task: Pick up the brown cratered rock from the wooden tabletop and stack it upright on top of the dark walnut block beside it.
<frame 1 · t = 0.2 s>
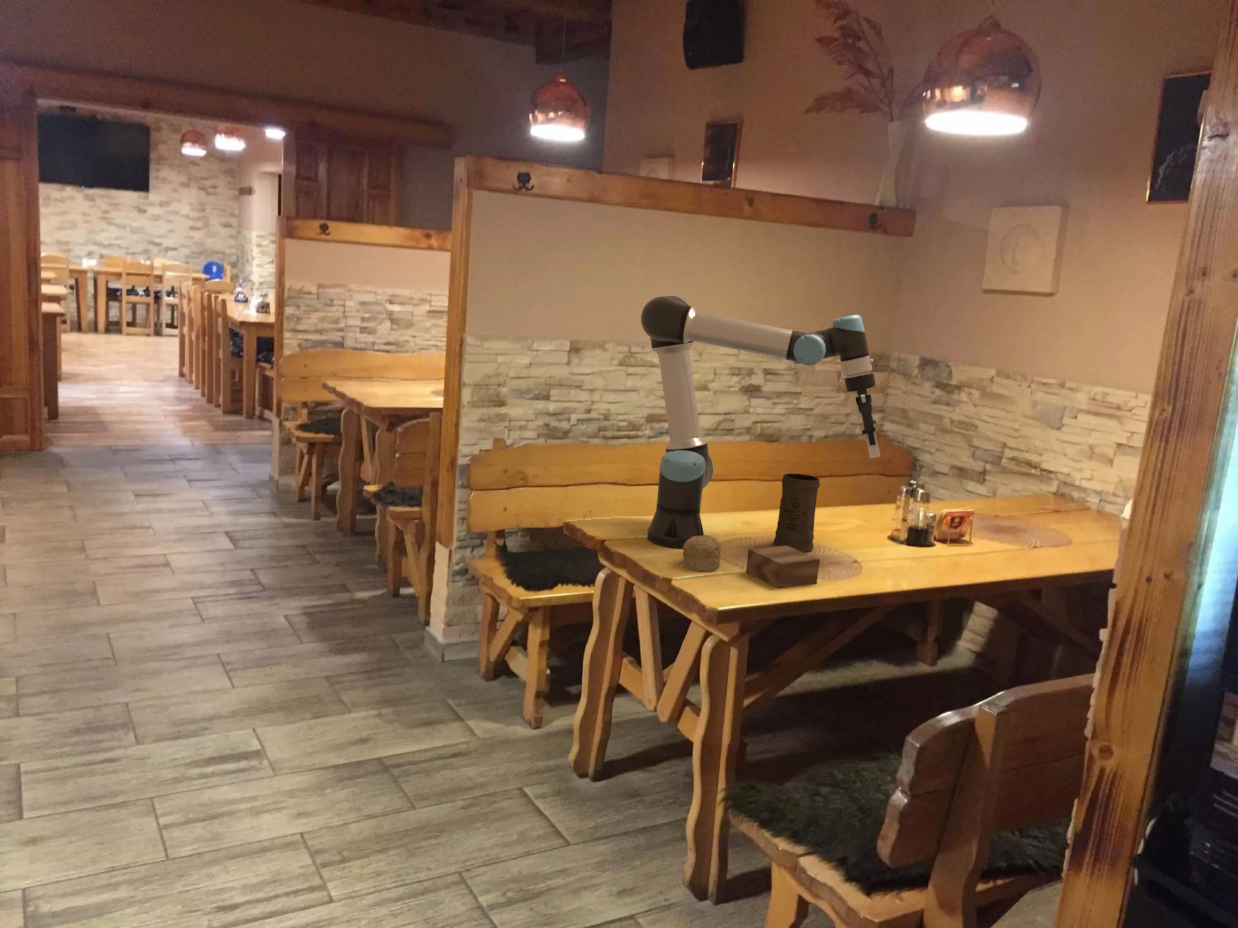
hand: (874, 453, 257), 28 cm above the table, tool tilted 20°, fingers open, 13 cm apart
walnut block: (781, 578, 235), on the table
brown cratered rock: (699, 566, 239), on the table
beer stein: (793, 545, 266), on the table
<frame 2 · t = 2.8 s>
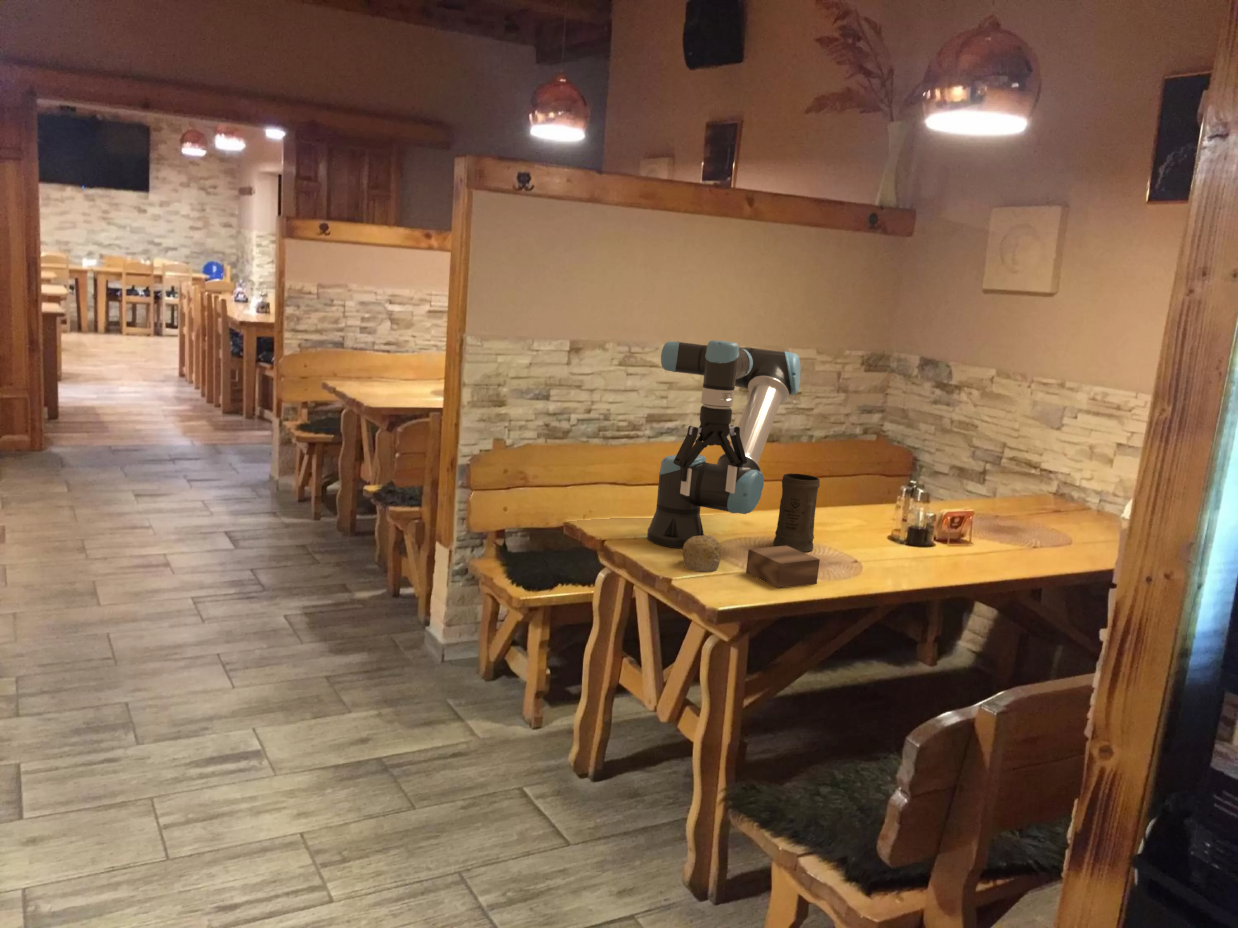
hand: (707, 493, 235), 18 cm above the table, tool pointing down, fingers open, 13 cm apart
nothing on the table moved.
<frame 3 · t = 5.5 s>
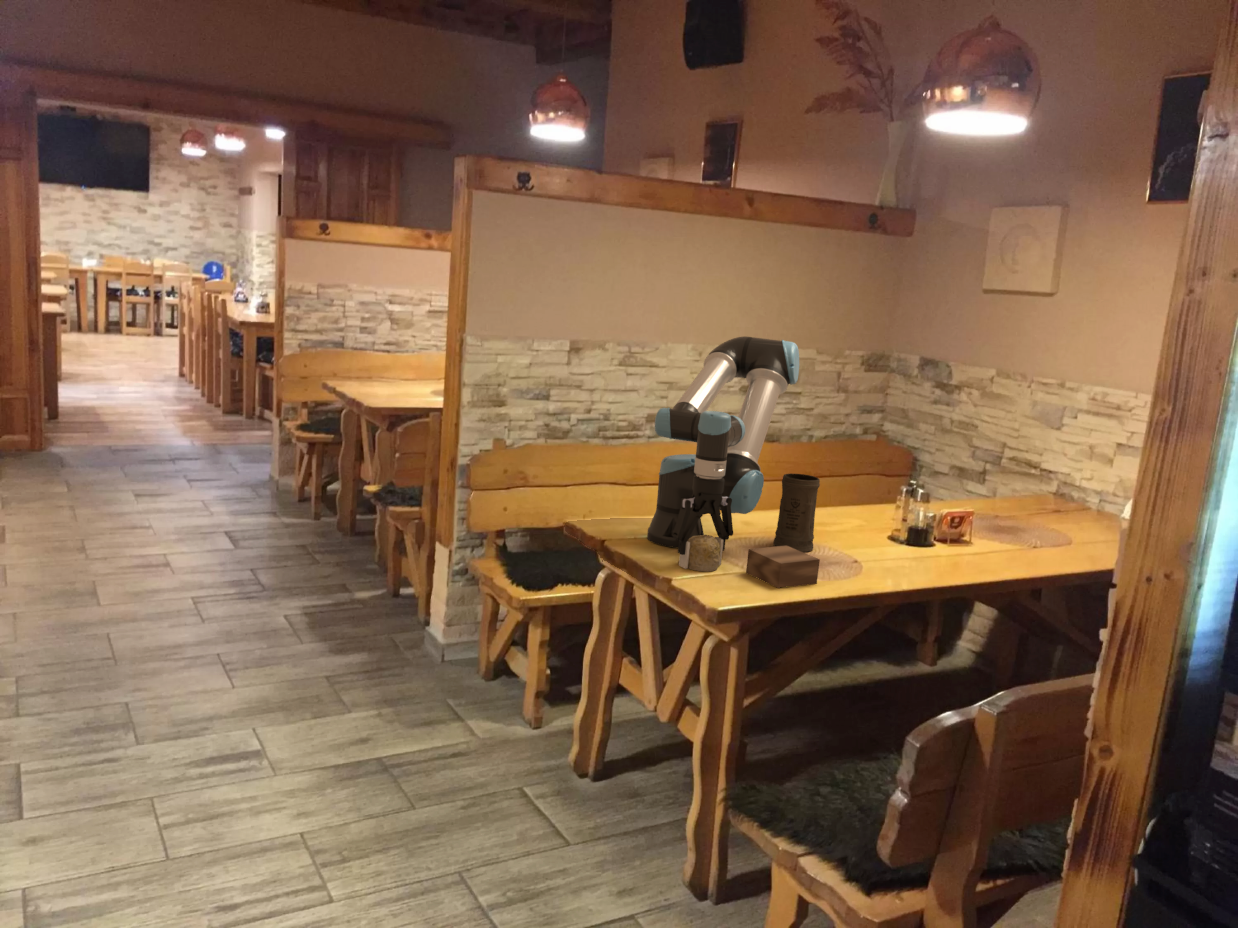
hand: (699, 565, 239), 0 cm above the table, tool pointing down, fingers closed on brown cratered rock, 9 cm apart
brown cratered rock: (699, 566, 239), on the table, touching gripper
everything else where it was.
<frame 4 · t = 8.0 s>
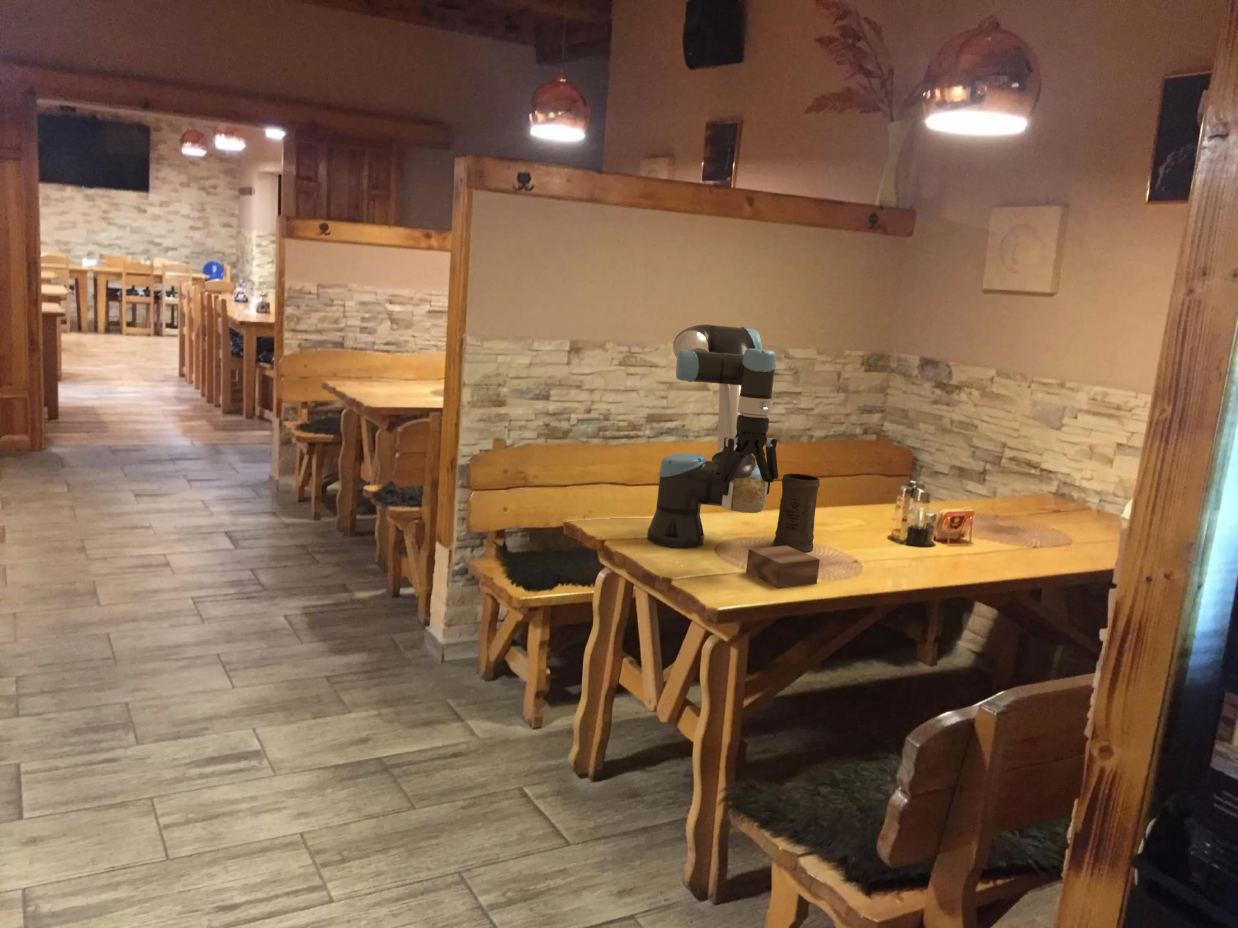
hand: (743, 508, 233), 16 cm above the table, tool pointing down, fingers closed on brown cratered rock, 9 cm apart
brown cratered rock: (743, 509, 233), point 16 cm above the table, touching gripper
everything else where it was.
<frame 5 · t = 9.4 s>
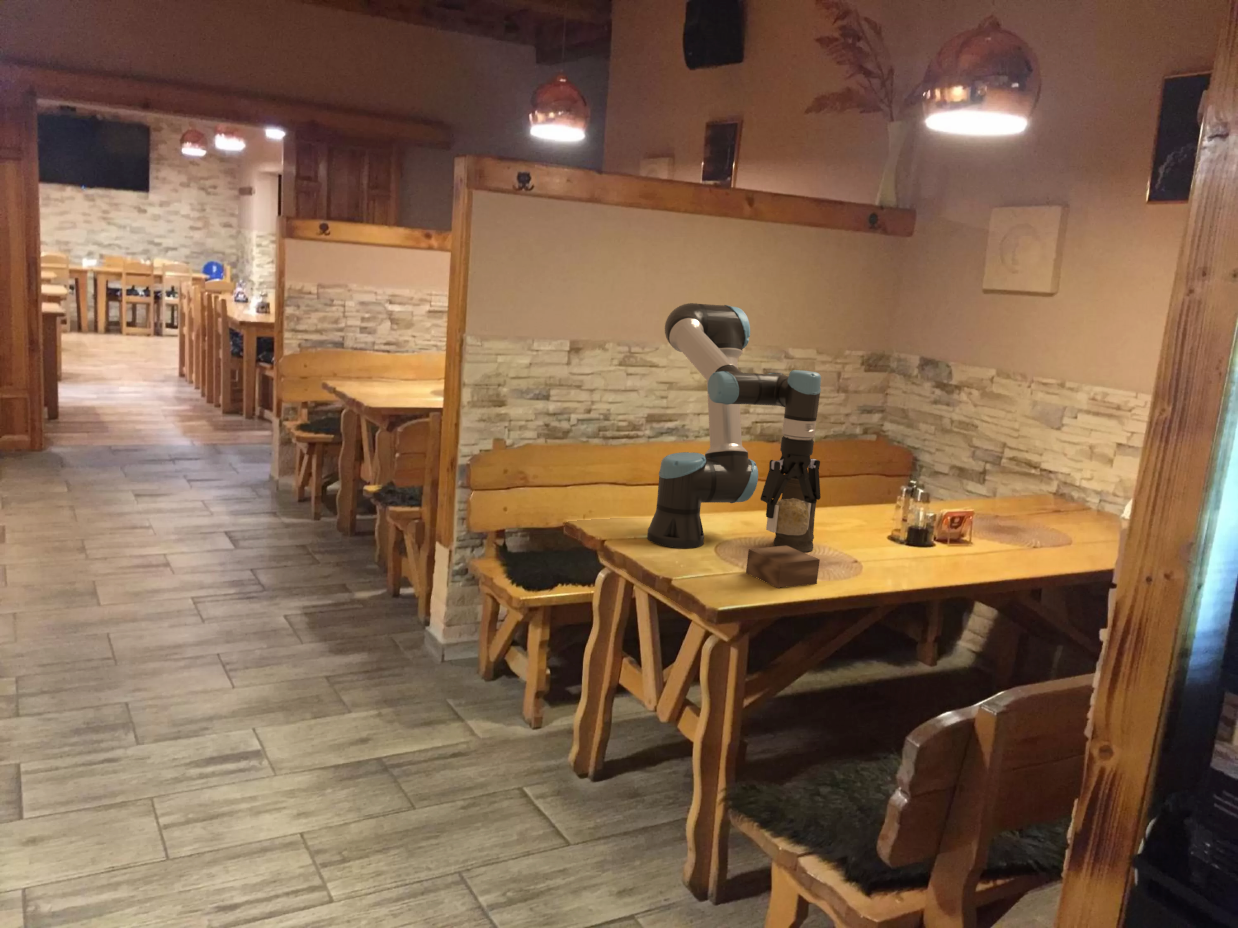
hand: (787, 529, 232), 12 cm above the table, tool pointing down, fingers closed on brown cratered rock, 9 cm apart
brown cratered rock: (787, 531, 232), point 12 cm above the table, touching gripper
everything else where it was.
when the fingers open (7 cm above the table, at t = 10.6 s): brown cratered rock drops 1 cm, resting on walnut block.
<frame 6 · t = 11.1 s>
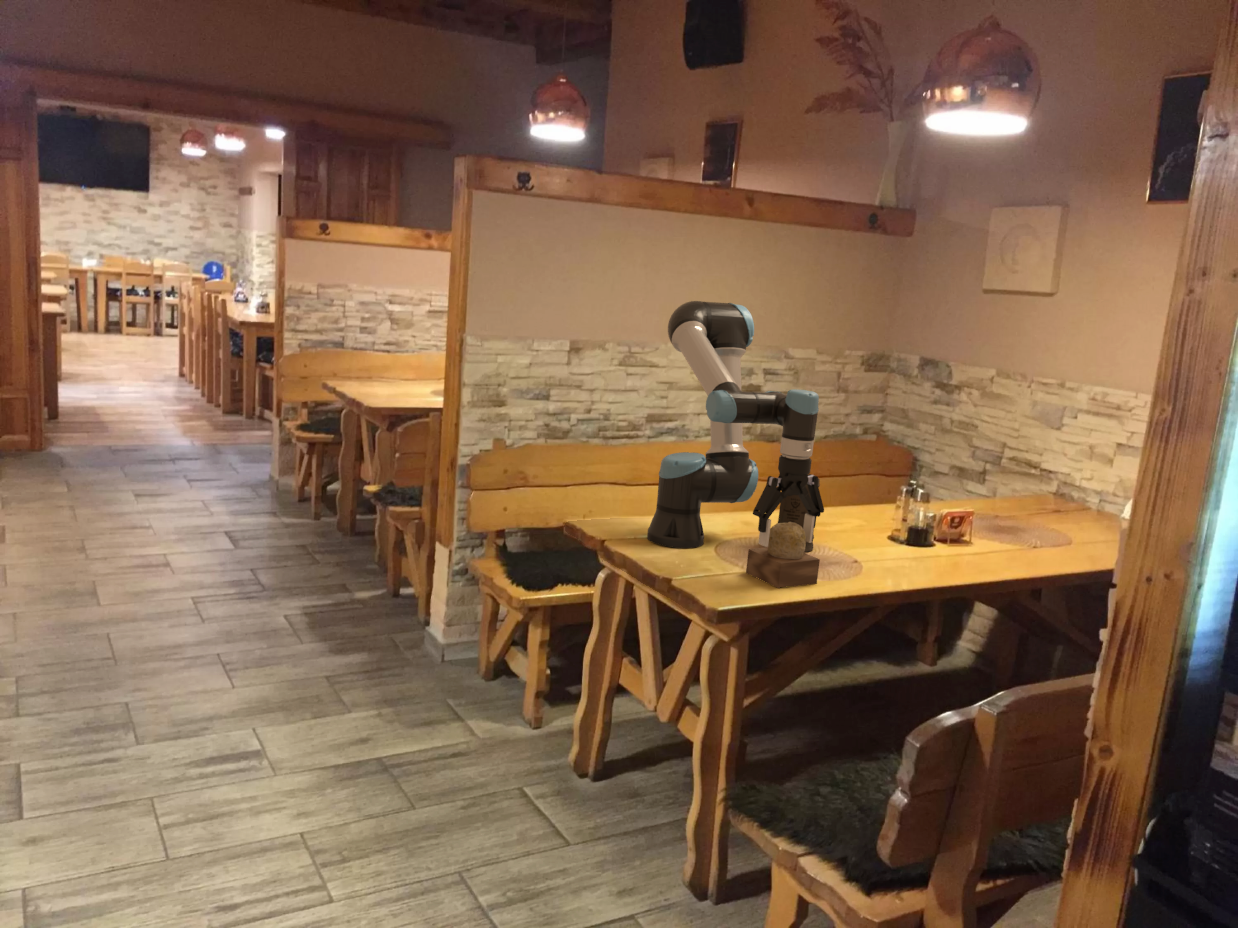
hand: (785, 543, 233), 9 cm above the table, tool pointing down, fingers open, 13 cm apart
brown cratered rock: (784, 554, 234), point 6 cm above the table, touching walnut block
everything else where it was.
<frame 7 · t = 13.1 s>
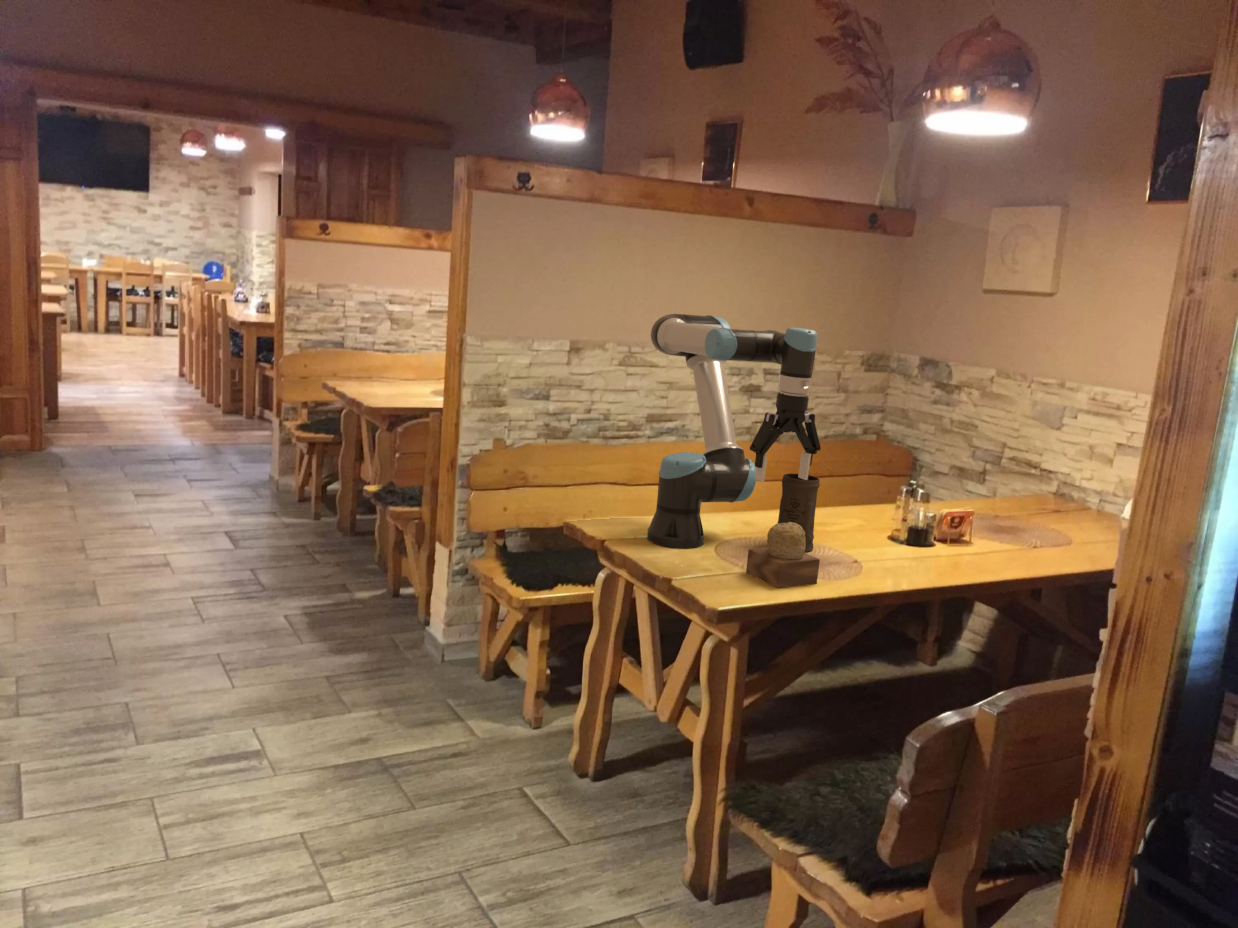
hand: (781, 479, 237), 23 cm above the table, tool pointing down, fingers open, 13 cm apart
nothing on the table moved.
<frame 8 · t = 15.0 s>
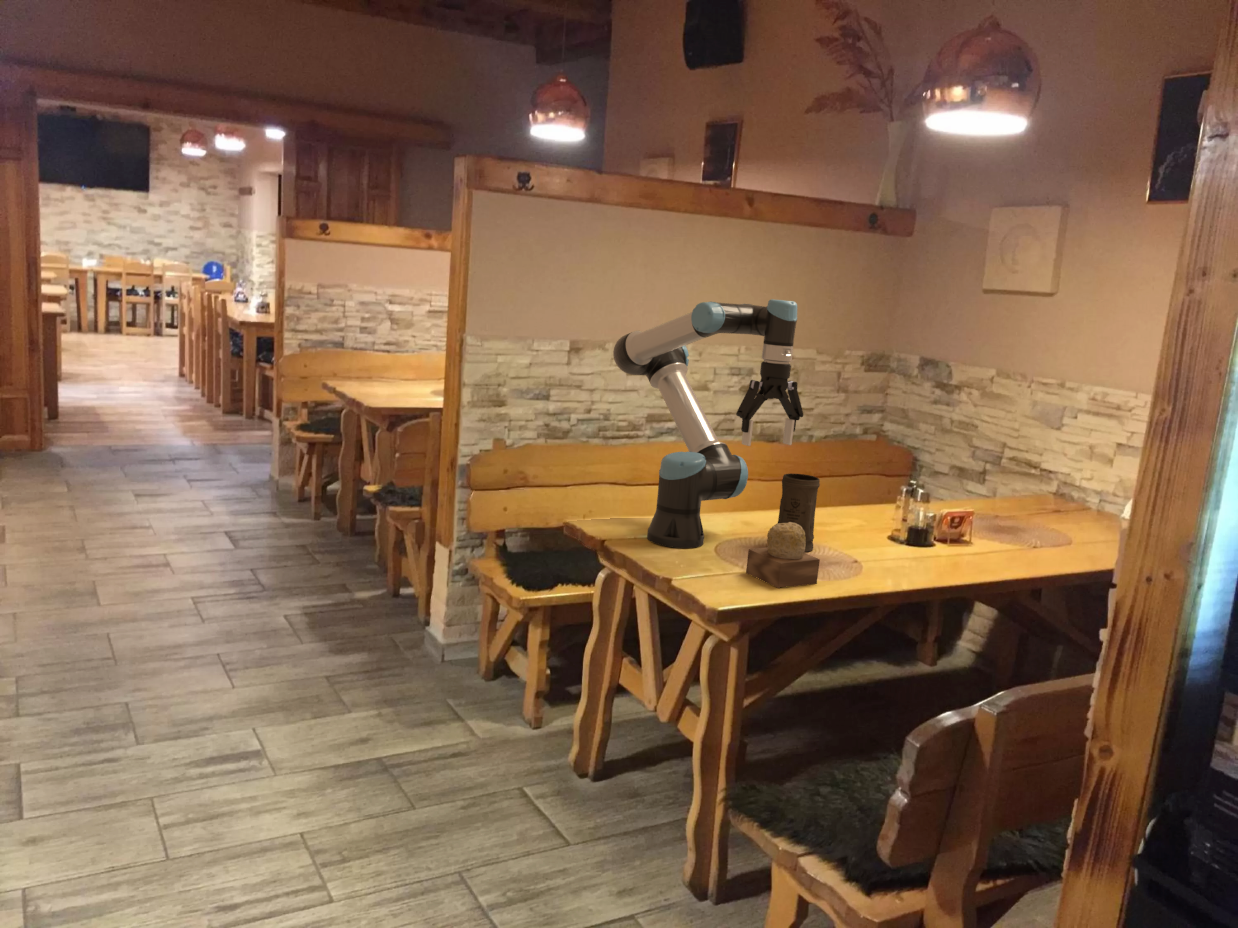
hand: (766, 444, 250), 29 cm above the table, tool pointing down, fingers open, 13 cm apart
nothing on the table moved.
at the end: brown cratered rock inside the target area on the walnut block (0.2 cm from its centre), point 5.8 cm above the walnut block's base; brown cratered rock tilted 0°; the gripper is holding nothing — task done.
